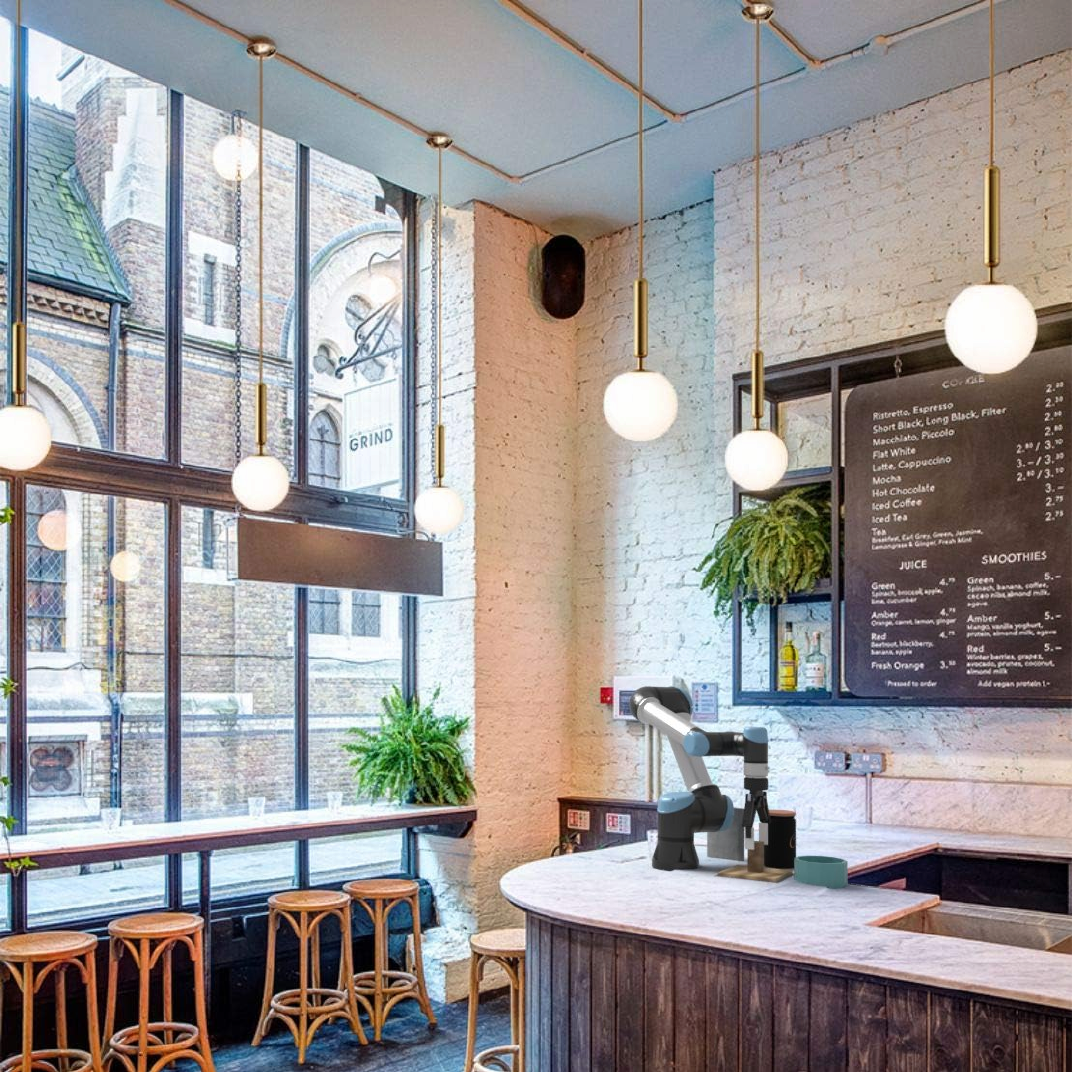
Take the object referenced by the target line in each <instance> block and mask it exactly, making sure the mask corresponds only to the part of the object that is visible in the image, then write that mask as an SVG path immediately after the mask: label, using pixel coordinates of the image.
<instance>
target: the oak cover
mask: <svg viewBox="0 0 1072 1072" xmlns="http://www.w3.org/2000/svg"><path fill="white" fill-rule="evenodd" d="M746 850H747V853H746V854H747V858H746V859H747V863H746V864H747V865H742V864H736V865H734V866H731V867H728V868H726V869H724V870H721V871H718V872H717V874H718V876H724V877H723V878H726V877H733V878H732V879H735V878H742V879H741V880H744V879H751V880H750V881H753V880H760V881H759V882H762V881H769V882H768V883H771V882H777V881H779V880H781V879H783V878H785V877H787V876H789V875H791V874H793V873H794V872H793V871H794V870H791V869H776V868H769V867H765V866H764V842H763V841H759V840H754V850H752V849H746Z"/></svg>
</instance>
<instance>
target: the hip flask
mask: <svg viewBox="0 0 1072 1072" xmlns="http://www.w3.org/2000/svg"><path fill="white" fill-rule="evenodd" d="M743 813H744V807H736V806H734V816H733V821H732V823H731V825H730V826H729V828H728V829H726V830H724V831H718V832H706V847H707V848H706V857H707V858H711V859H719V860H728V861H729V860H731V861H738V862H745V827H742V820H743Z"/></svg>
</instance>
